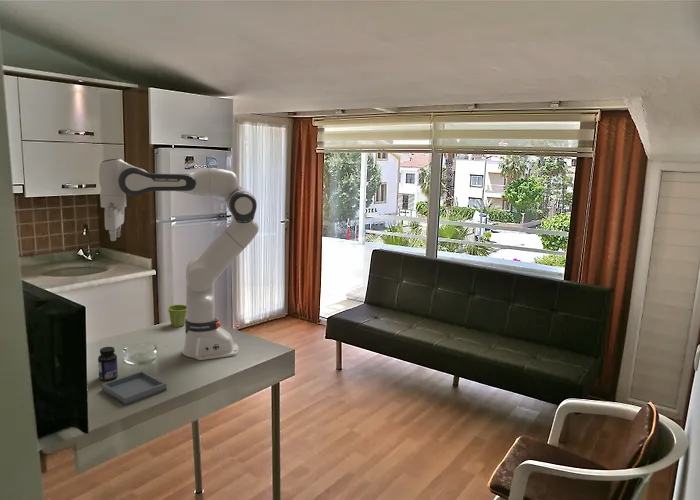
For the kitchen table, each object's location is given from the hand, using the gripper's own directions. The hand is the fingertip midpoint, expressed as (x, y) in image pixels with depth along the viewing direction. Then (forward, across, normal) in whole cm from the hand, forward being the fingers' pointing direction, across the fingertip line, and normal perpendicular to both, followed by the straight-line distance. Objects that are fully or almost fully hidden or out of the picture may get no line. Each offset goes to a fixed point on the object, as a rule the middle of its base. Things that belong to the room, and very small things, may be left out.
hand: (115, 238), depth 194 cm
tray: (+48, -30, -8) cm, 58 cm away
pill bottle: (+48, -19, +2) cm, 52 cm away
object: (+48, +37, -19) cm, 63 cm away
